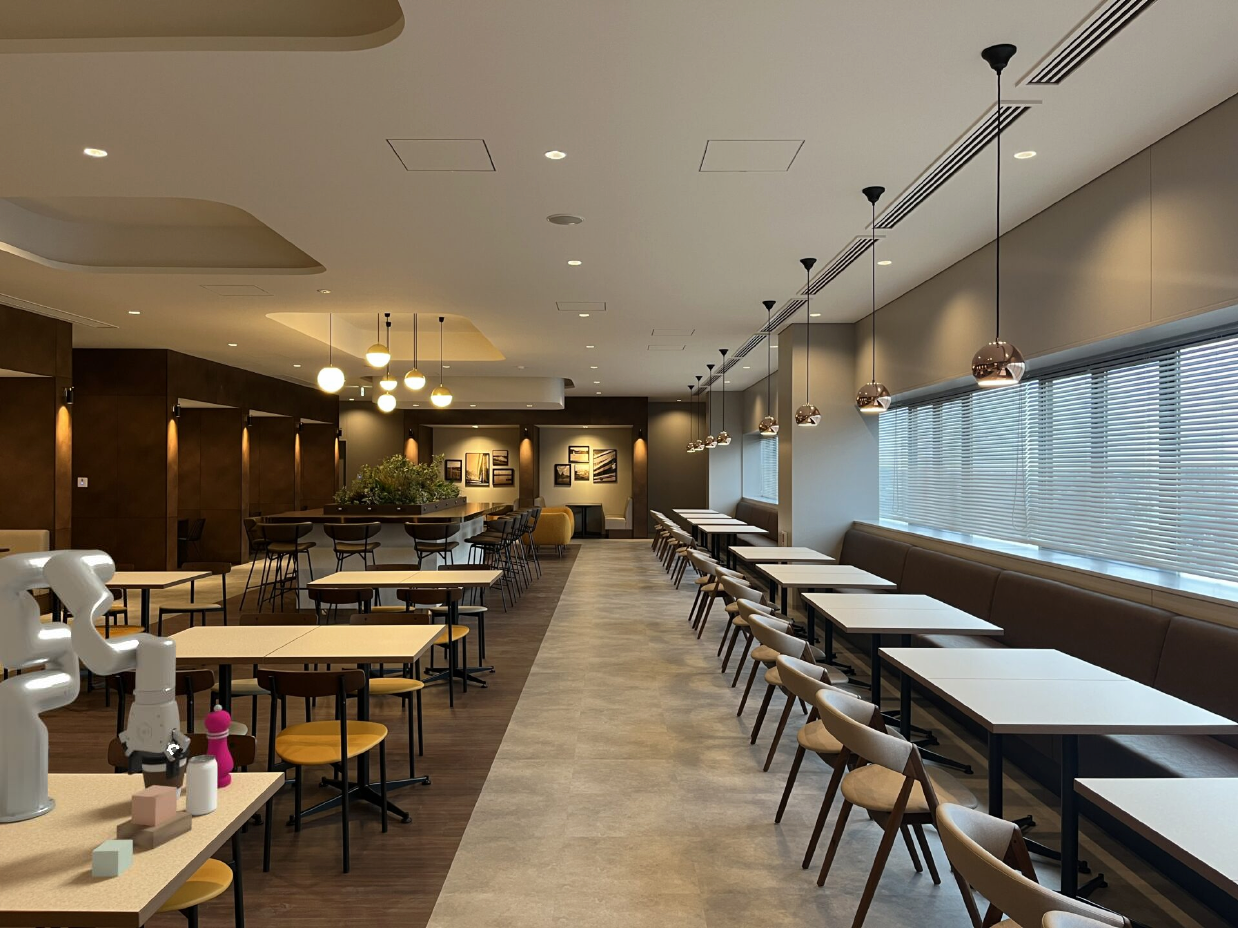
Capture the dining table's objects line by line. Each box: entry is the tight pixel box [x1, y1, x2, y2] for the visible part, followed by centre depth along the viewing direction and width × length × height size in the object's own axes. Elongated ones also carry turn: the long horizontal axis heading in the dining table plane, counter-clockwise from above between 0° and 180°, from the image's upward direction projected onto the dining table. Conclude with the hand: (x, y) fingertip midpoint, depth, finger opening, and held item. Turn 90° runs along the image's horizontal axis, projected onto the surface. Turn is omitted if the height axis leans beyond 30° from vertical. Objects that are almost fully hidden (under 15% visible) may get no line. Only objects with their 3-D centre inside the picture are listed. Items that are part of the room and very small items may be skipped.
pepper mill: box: [204, 704, 234, 789], centre depth 208 cm, size 7×7×20 cm
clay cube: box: [130, 785, 178, 826], centre depth 178 cm, size 6×6×6 cm
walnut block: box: [116, 810, 193, 850], centre depth 178 cm, size 10×10×4 cm
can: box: [185, 754, 218, 817], centre depth 191 cm, size 6×6×12 cm
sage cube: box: [91, 839, 134, 878], centre depth 162 cm, size 5×5×5 cm
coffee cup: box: [141, 743, 191, 801], centre depth 197 cm, size 11×11×12 cm
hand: (153, 774), depth 178 cm, fingers open, 9 cm apart
